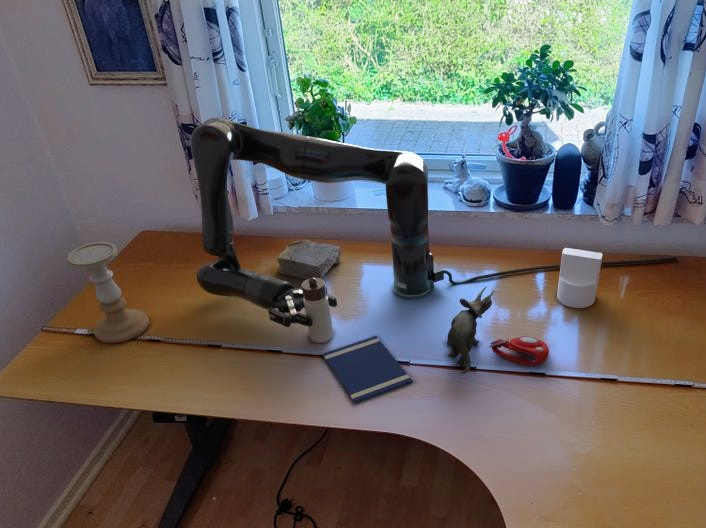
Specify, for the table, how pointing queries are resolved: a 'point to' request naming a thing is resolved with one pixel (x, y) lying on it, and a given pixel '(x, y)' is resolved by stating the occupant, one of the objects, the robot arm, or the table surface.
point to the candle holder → (108, 294)
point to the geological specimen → (308, 259)
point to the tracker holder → (522, 349)
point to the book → (366, 369)
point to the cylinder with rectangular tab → (578, 277)
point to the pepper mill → (317, 309)
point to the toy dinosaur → (466, 329)
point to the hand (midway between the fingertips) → (324, 312)
